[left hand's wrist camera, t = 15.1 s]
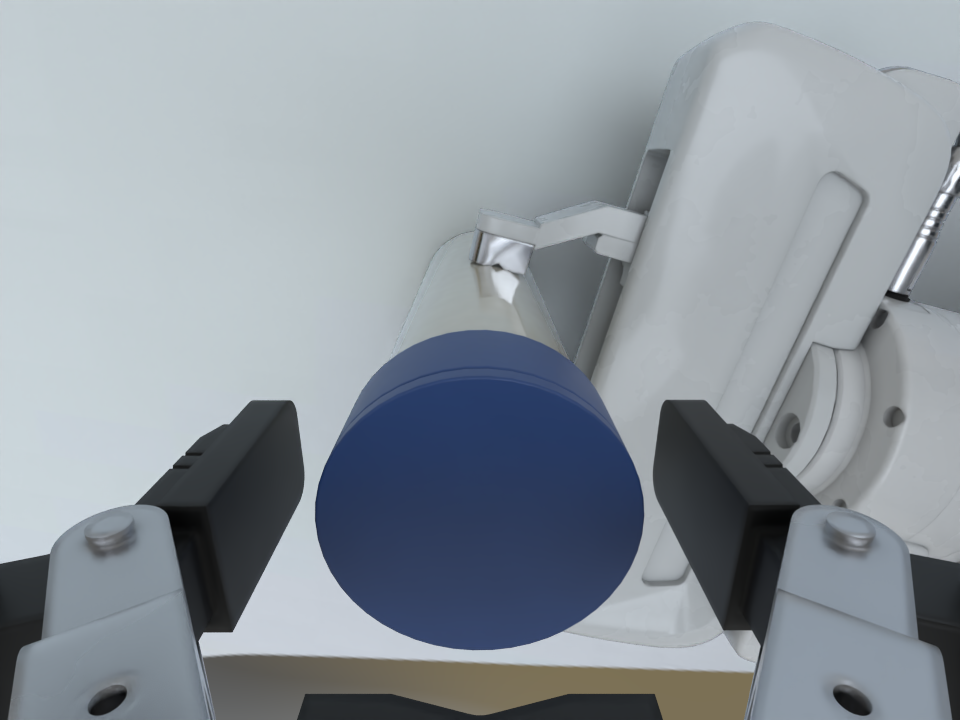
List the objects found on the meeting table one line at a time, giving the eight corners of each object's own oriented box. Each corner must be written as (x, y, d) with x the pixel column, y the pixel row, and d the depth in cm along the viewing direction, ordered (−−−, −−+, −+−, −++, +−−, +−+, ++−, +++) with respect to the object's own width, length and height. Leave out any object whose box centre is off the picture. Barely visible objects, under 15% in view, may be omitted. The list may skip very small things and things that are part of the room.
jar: (406, 264, 24) (284, 457, 9) (499, 210, 23) (539, 322, 8) (459, 351, 25) (433, 643, 10) (549, 303, 25) (661, 543, 10)
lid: (449, 598, 12) (443, 693, 10) (290, 425, 10) (244, 493, 8) (659, 483, 11) (702, 561, 9) (517, 272, 9) (528, 306, 7)
